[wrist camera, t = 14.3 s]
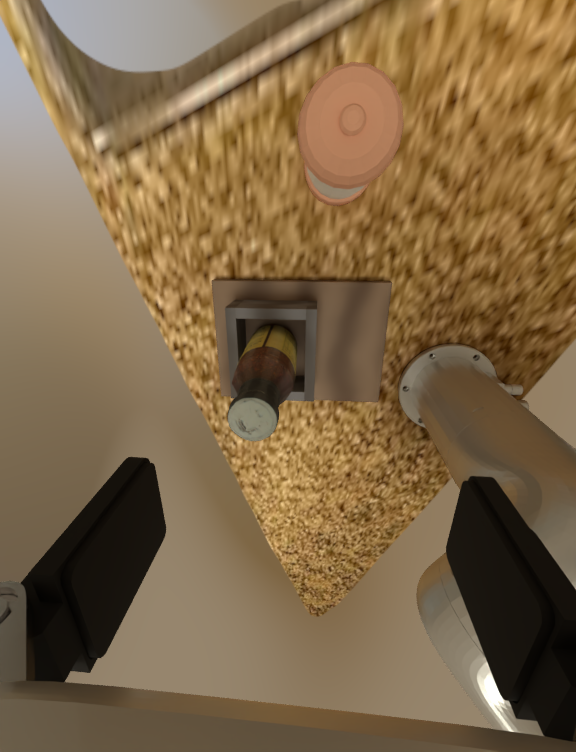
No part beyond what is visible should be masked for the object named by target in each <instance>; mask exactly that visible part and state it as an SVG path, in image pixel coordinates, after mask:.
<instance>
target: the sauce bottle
mask: <svg viewBox="0 0 576 752" xmlns="http://www.w3.org/2000/svg"><path fill="white" fill-rule="evenodd" d="M296 361H297V343H296V340H295V338H294V336H293V335H292V333H291V331H290V330H289V329H287V328H285V327H284V326H281V325H278V324H267V325H265V326H263V327H261V328H260V329H258V330H257V331H256V332H255V333H254V334H253V335H252V337H251V339H250V341H249V343H248V345H247V347H246V348H245V350H244V352H243V354H242V356H241V358H240V360H239V362H238V364H237V368H236V370H235V372H234V377H233V380H232V386H233V387H234V389H235V391H236V393H237V397H236V398H235V399H234V400H233V401H232V403H231V404H230V407H229V411H228V423H229V426H230V428H231V429H232V431H233V432H235V434H237V435H238V436H239V437H241V438H243V439H245V440H250V441H260V440H263V439H265V438H267V437H269V436H270V435H271V434H272V433H273V432H274V430H275V429H276V426H277V423H278V419H279V410H278V407H279V405H280V404H281V403H283V402H284V401H285V400H286V399H287V397H288V396H289V395H290V393H291V391H292V389H293V386H294V381H295V374H296Z"/></svg>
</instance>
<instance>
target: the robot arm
mask: <svg viewBox="0 0 576 752" xmlns="http://www.w3.org/2000/svg"><path fill="white" fill-rule="evenodd" d="M430 354H432V355H431V356H429V355H430ZM474 355H475V357H474ZM404 386H406V387H405V388H403V387H404ZM522 393H523V387H522V385H520V384H509V385H508V384H504V383H502V382H501V381H500V380H499V379H498V378H497V374H496V371H495V369H494V366H493V365H492V363H491V362H490V360H489V359H488V358H487V357H486V356H485V355H483V354H482V353H481V352H479V351H478V350H476V349H474V348H472V347H469V346H466V345H462V344H444V345H438V346H435V347H432V348H430V349H428V350H426V351H424V352H422V353H420V354H419V355H418V356H416V357H415V358H414V359H413V360H412V361H411V362H410V363H409V364H408V365H407V367H406V368H405V370H404V371H403V373H402V375H401V378H400V380H399V385H398V397H399V401H400V404H401V406H402V409H403V410H404V412H405V414H406V415H407V416H408V417H409V418H410V419H411V420H412V421H413V422H415V423H416V424H418V425H419V426H422V427H424V428H426V429H427V431H428V432H429V434H430V436H431V438H432V440H433V442H434V444H435V445H436V447H437V449H438V451H439V453H440V455H441V457H442V458H443V460H444V462H445V464H446V466H447V468H448V470H449V471H450V473H451V475H452V477H453V479H454V481H455V483H456V484H457V486H458V487H459V489H460V494H459V498H458V502H457V506H456V510H455V514H454V518H453V522H452V526H451V530H450V534H449V538H448V542H447V546H446V553H444V554H443V555H442V556H441V557H440V558H438V559H437V560H436V561H435V562H434V563H433V564H431V566H429V567H428V568H427V569H426V571H425V572H424V573H423V575H422V576H421V578H420V580H419V583H418V586H417V594H416V595H417V606H418V610H419V613H420V617H421V620H422V622H423V625H424V627H425V629H426V632H427V634H428V636H429V638H430V640H431V642H432V644H433V645H434V647H435V648H436V650H437V652H438V653H439V655H440V657H441V658H442V660H443V662H444V663H445V664H446V666H447V667H448V669H449V670H450V672H451V673H452V675H453V676H454V677H455V679H456V680H457V682H458V683H459V684H460V686H461V687H462V688H463V690H464V691H465V692H466V694H467V695H468V696H469V698H470V699H471V701H472V702H473V703H474V705H475V706H476V707H477V708H478V710H479V711H480V712H481V714H482V715H483V717H484V718H485V719H486V720H487V722H488V723H489V724H490V726H491V727H492V728H493V729H489V728H481V727H474V726H466V725H459V724H450V723H442V722H433V721H424V720H415V719H407V718H399V717H390V716H382V715H373V714H364V713H355V712H347V711H338V710H329V709H320V708H311V707H301V706H293V705H284V704H275V703H266V702H257V701H248V700H238V699H229V698H220V697H211V696H200V695H191V694H182V693H173V692H163V691H154V690H144V689H133V688H125V687H114V686H103V685H90V684H78V683H66V682H65V680H66V678H67V677H68V675H69V673H70V671H78V672H87V673H90V672H91V670H92V668H93V666H94V664H95V662H96V660H97V658H101V657H103V656H104V655H105V653H106V652H107V650H108V648H109V646H110V644H111V642H112V640H113V638H114V636H115V634H116V632H117V630H118V628H119V626H120V624H121V622H122V620H123V618H124V616H125V614H126V613H127V610H128V608H129V607H130V605H131V603H132V601H133V599H134V596H135V595H136V593H137V591H138V589H139V587H140V585H141V583H142V581H143V579H144V577H145V575H146V573H147V571H148V569H149V567H150V565H151V563H152V561H153V559H154V557H155V555H156V553H157V551H158V549H159V548H160V546H161V544H162V542H163V539H164V537H165V533H166V524H165V520H164V514H163V508H162V502H161V497H160V492H159V486H158V481H157V475H156V470H155V466H154V464H153V463H150V461H149V459H147V458H138V457H128V458H127V459H126V460H125V461H124V462H123V463H122V464H121V465H120V467H119V468H118V469H117V470H116V471H115V472H114V474H113V475H112V476H111V477H110V478H109V479H108V481H107V482H106V483H105V484H104V485H103V487H102V488H101V489H100V490H99V491H98V492H97V494H96V495H95V496H94V497H93V498H92V500H91V501H90V502H89V503H88V504H87V505H86V506H85V508H84V509H83V510H82V511H81V512H80V514H79V515H78V516H77V517H76V518H75V519H74V521H73V522H72V523H71V524H70V525H69V526H68V528H67V529H66V530H65V531H64V533H63V534H62V535H61V536H60V537H59V538H58V539H57V540H56V542H55V543H54V544H53V545H52V546H51V548H50V549H49V550H48V551H47V552H46V553H45V555H44V556H43V557H42V558H41V559H40V560H39V562H38V563H37V564H36V565H35V566H34V567H33V569H32V570H31V571H30V572H29V573H28V575H27V576H26V577H25V579H24V580H23V581H22V582H21V583H19V582H14V581H6V582H0V752H576V449H575V448H573V447H572V446H571V445H569V444H568V443H567V442H566V441H564V440H563V439H562V438H560V437H559V436H558V435H557V434H556V433H555V432H553V431H552V430H551V429H550V428H549V427H547V426H546V425H545V424H544V423H543V422H542V421H540V420H539V419H538V418H537V417H536V416H535V415H533V414H532V413H531V412H530V411H529V405H528V403H527V401H525V400H516V399H515V398H514V397H513V396H511V395H521V394H522ZM419 418H420V419H419Z"/></svg>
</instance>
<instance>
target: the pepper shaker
mask: <svg viewBox="0 0 576 752" xmlns="http://www.w3.org/2000/svg"><path fill="white" fill-rule="evenodd" d="M402 131H403V111H402V103H401V100H400V98H399V95H398V92H397V90H396V87H395V85H394V84H393V83H392V81H391V80H390V79H389V78H388V77H387V75H386V74H385V73H384V72H383V71H381V70H379V69H377V68H376V67H374V66H372V65H370V64H367V63H356V62H350V63H347V64H343V65H340V66H337V67H334V68H333V69H331V70H330V71H329V72H327V73H326V74H325V75H323V76H322V77H321V78H319V79H318V81H317V82H316V83H315V85H314V86H313V88H312V89H311V90H310V92H309V93H308V94H307V96H306V98H305V101H304V104H303V106H302V109H301V112H300V114H299V123H298V133H297V135H298V141H299V147H300V153H301V155H302V157H303V159H304V161H305V163H304V169H305V175H306V181H307V184H308V186H309V188H310V190H311V192H312V194H313V195H314V196H315V197H316V198H317V199H318V200H319V201H321V202H323V203H325V204H327V205H333V206H340V205H344V204H348V203H350V202H351V201H353V200H354V199H356V198H357V197H359V196H360V195H361V193H362V192H363V191H364V190H365V189H366V188H367V187H368V185H369V183H370V182H371V181H372V180H374V179H376V178H377V177H379V176H380V175H381V173H382V172H383V171H384V170H385V169H386V168H387V167H388V166H389V164H390V163H391V162H392V160H393V158H394V156H395V154H396V152H397V149H398V147H399V145H400V141H401V136H402Z"/></svg>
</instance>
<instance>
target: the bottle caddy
mask: <svg viewBox="0 0 576 752" xmlns="http://www.w3.org/2000/svg"><path fill="white" fill-rule="evenodd" d="M391 287H392V283H391V282H390V281H330V280H245V279H214V280H212V290H213V302H214V314H215V326H216V338H217V350H218V362H219V374H220V385H221V396H231V398H236V397H237V393H236V391H235V389H234V387H233V386H232V380H233V377H234V372H235V370H236V368H237V364H238V362H239V360H240V358H241V356H242V354H243V352H244V350H245V348H246V347H247V345H248V343H249V341H250V339H251V337H252V335H253V334H254V333H255V332H256V331H257V330H258V329H260V328H261V327H263V326H265V325H267V324H278V325H281V326H284V327H285V328H287V329H289V330H290V331H291V333H292V335H293V336H294V338H295V340H296V343H297V361H296V374H295V381H294V386H293V389H292V391H291V393H290V395H289V396H288V397H287V399H286V400H292V401H314V400H334V401H359V402H378V399H379V391H380V382H381V373H382V365H383V356H384V347H385V339H386V330H387V321H388V313H389V304H390V295H391Z"/></svg>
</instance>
